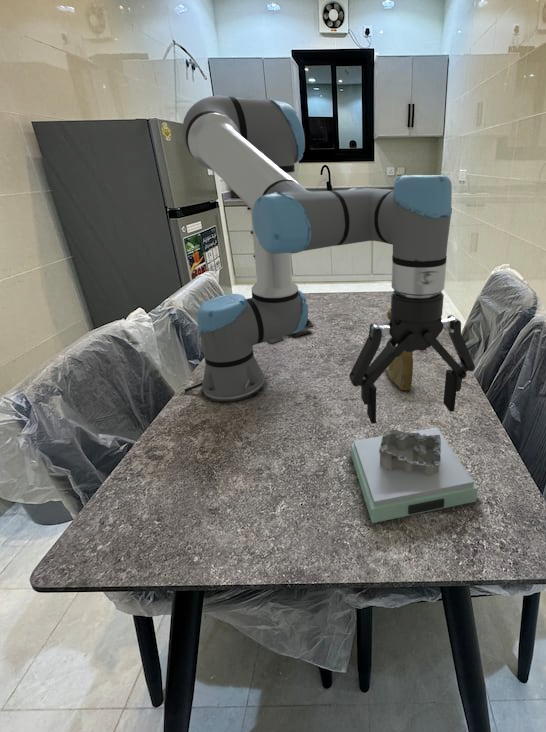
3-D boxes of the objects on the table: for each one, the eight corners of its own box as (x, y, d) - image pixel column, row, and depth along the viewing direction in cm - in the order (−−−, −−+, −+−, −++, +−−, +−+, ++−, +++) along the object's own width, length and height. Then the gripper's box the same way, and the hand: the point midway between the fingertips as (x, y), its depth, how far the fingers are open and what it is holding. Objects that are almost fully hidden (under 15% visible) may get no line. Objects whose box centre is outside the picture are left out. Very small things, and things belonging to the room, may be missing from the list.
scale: (372, 525, 60) (372, 506, 59) (351, 455, 75) (350, 439, 73) (477, 503, 64) (479, 485, 62) (437, 441, 78) (438, 425, 77)
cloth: (264, 319, 144) (262, 303, 141) (314, 317, 144) (313, 302, 142) (252, 344, 123) (250, 326, 121) (310, 342, 124) (309, 324, 121)
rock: (421, 386, 93) (427, 363, 101) (400, 361, 91) (408, 339, 99) (387, 401, 99) (395, 378, 107) (366, 378, 97) (377, 356, 105)
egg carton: (376, 470, 66) (375, 451, 64) (384, 442, 72) (384, 424, 71) (439, 480, 63) (440, 460, 62) (441, 450, 70) (442, 432, 68)
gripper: (336, 306, 49) (341, 438, 58) (509, 291, 55) (490, 415, 63) (328, 289, 56) (333, 410, 65) (482, 277, 61) (468, 391, 70)
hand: (410, 412), depth 64 cm, fingers open, 13 cm apart
